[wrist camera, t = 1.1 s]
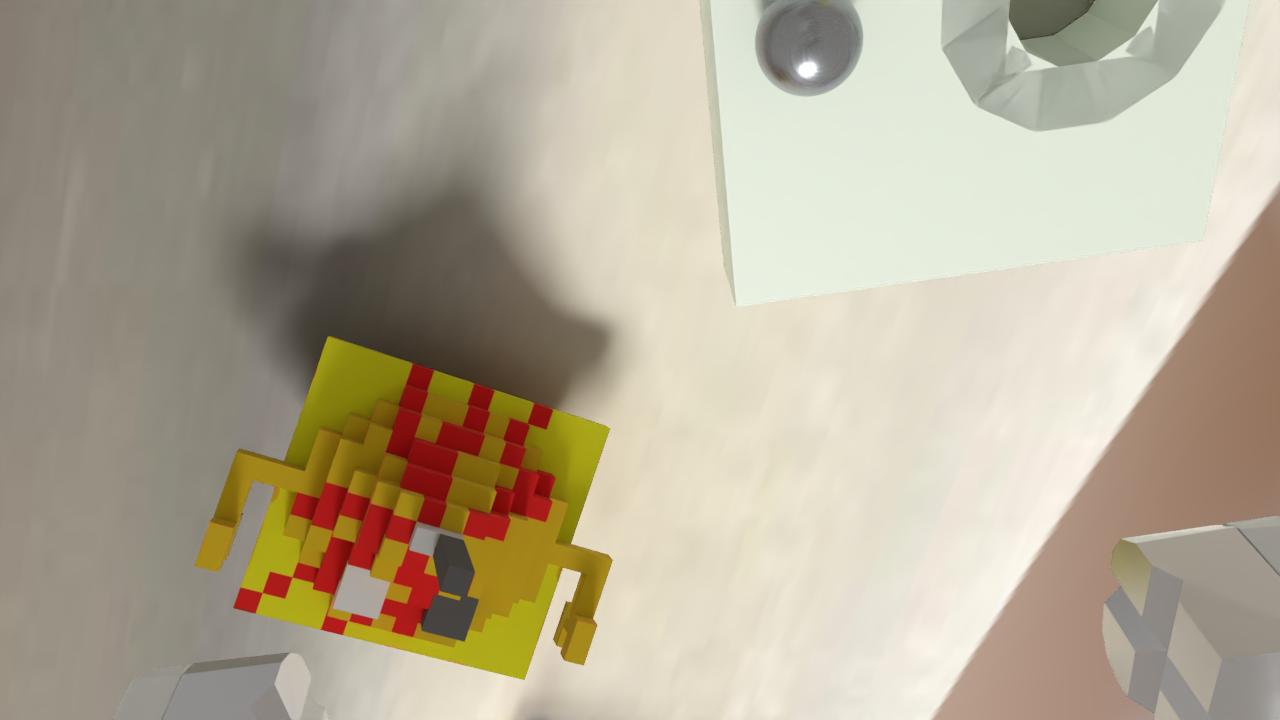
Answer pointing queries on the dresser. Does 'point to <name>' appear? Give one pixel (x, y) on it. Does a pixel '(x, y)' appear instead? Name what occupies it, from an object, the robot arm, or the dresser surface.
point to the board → (967, 142)
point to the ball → (808, 44)
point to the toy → (420, 515)
